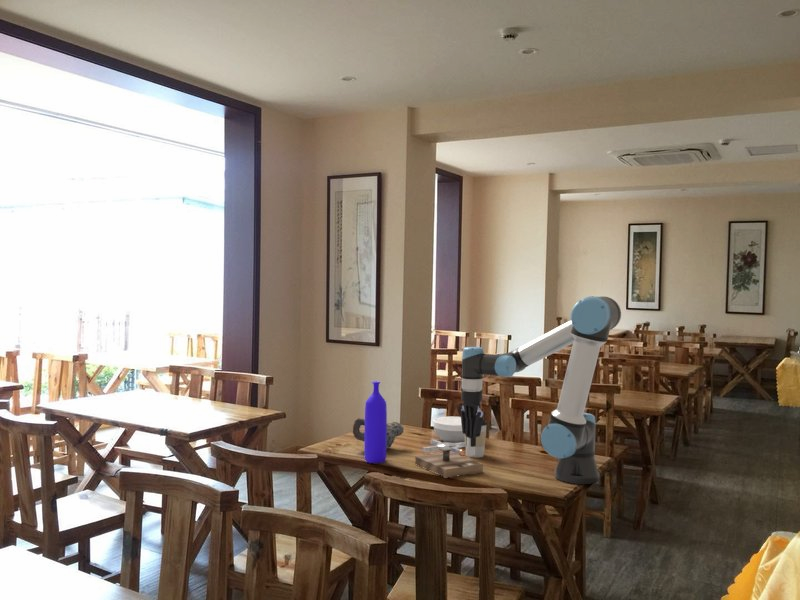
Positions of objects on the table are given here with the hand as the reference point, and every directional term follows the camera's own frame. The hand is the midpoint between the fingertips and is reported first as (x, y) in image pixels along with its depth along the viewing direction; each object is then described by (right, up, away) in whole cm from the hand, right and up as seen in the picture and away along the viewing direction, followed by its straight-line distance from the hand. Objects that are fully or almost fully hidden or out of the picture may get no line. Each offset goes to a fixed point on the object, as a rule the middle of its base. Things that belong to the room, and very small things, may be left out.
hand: (470, 454), depth 246 cm
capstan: (-8, +1, +1) cm, 9 cm away
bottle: (-35, -5, +11) cm, 37 cm away
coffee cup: (+4, -5, +21) cm, 22 cm away
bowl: (-2, -5, +46) cm, 46 cm away
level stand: (-8, -5, +2) cm, 10 cm away
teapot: (-34, -5, +29) cm, 45 cm away
